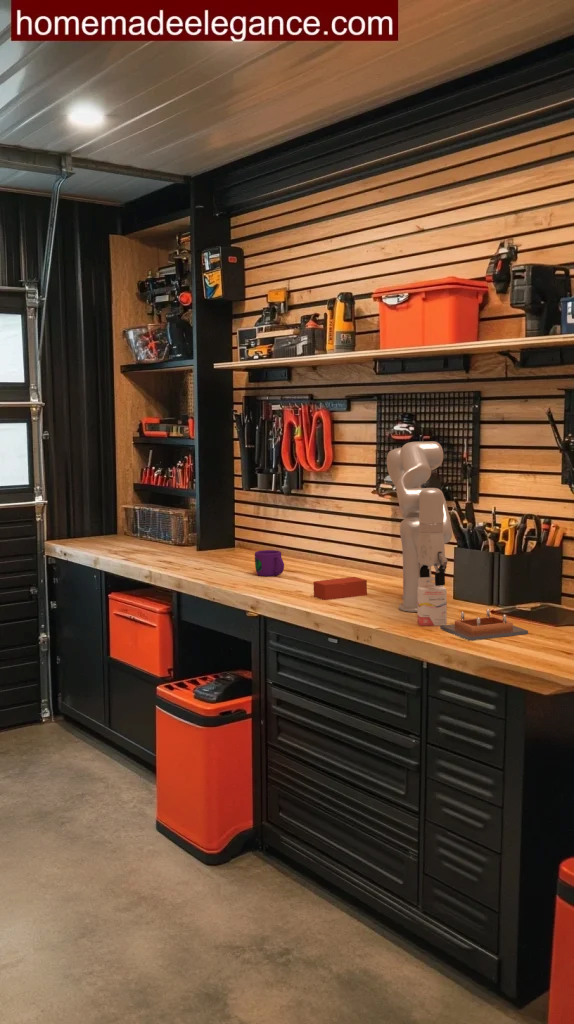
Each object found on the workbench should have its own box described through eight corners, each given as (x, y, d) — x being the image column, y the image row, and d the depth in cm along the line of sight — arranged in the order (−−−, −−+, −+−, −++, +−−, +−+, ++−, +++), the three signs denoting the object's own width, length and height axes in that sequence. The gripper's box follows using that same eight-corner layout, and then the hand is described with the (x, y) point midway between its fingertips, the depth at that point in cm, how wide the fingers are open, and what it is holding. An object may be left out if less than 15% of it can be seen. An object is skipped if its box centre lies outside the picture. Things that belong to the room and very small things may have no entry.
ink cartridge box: (420, 626, 283) (419, 579, 282) (417, 622, 288) (416, 577, 287) (447, 625, 284) (446, 579, 282) (444, 622, 289) (443, 576, 287)
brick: (354, 592, 345) (354, 576, 345) (367, 595, 337) (367, 579, 337) (313, 597, 337) (313, 581, 337) (325, 601, 329) (324, 584, 329)
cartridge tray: (440, 628, 279) (440, 611, 279) (496, 622, 286) (496, 605, 285) (469, 640, 263) (469, 622, 263) (528, 633, 270) (528, 615, 269)
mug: (250, 574, 390) (249, 551, 389) (272, 571, 396) (271, 549, 395) (272, 579, 376) (271, 556, 375) (294, 576, 382) (294, 553, 381)
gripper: (407, 527, 290) (408, 580, 291) (434, 531, 274) (435, 588, 275) (428, 526, 292) (429, 579, 293) (456, 530, 276) (456, 586, 277)
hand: (432, 583), depth 284 cm, fingers open, 9 cm apart
